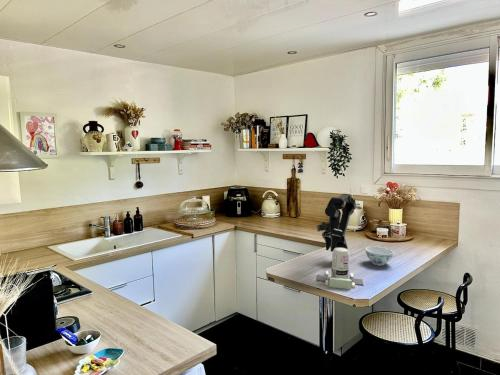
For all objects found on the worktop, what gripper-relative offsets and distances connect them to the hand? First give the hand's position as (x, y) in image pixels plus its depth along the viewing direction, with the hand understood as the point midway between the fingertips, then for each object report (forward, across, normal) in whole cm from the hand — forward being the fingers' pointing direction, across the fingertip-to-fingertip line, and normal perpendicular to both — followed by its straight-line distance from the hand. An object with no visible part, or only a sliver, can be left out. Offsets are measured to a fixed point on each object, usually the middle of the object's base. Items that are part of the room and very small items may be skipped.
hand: (329, 250), depth 193 cm
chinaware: (0, -17, +34) cm, 38 cm away
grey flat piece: (+14, +6, +6) cm, 17 cm away
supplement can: (+13, +3, +6) cm, 15 cm away
